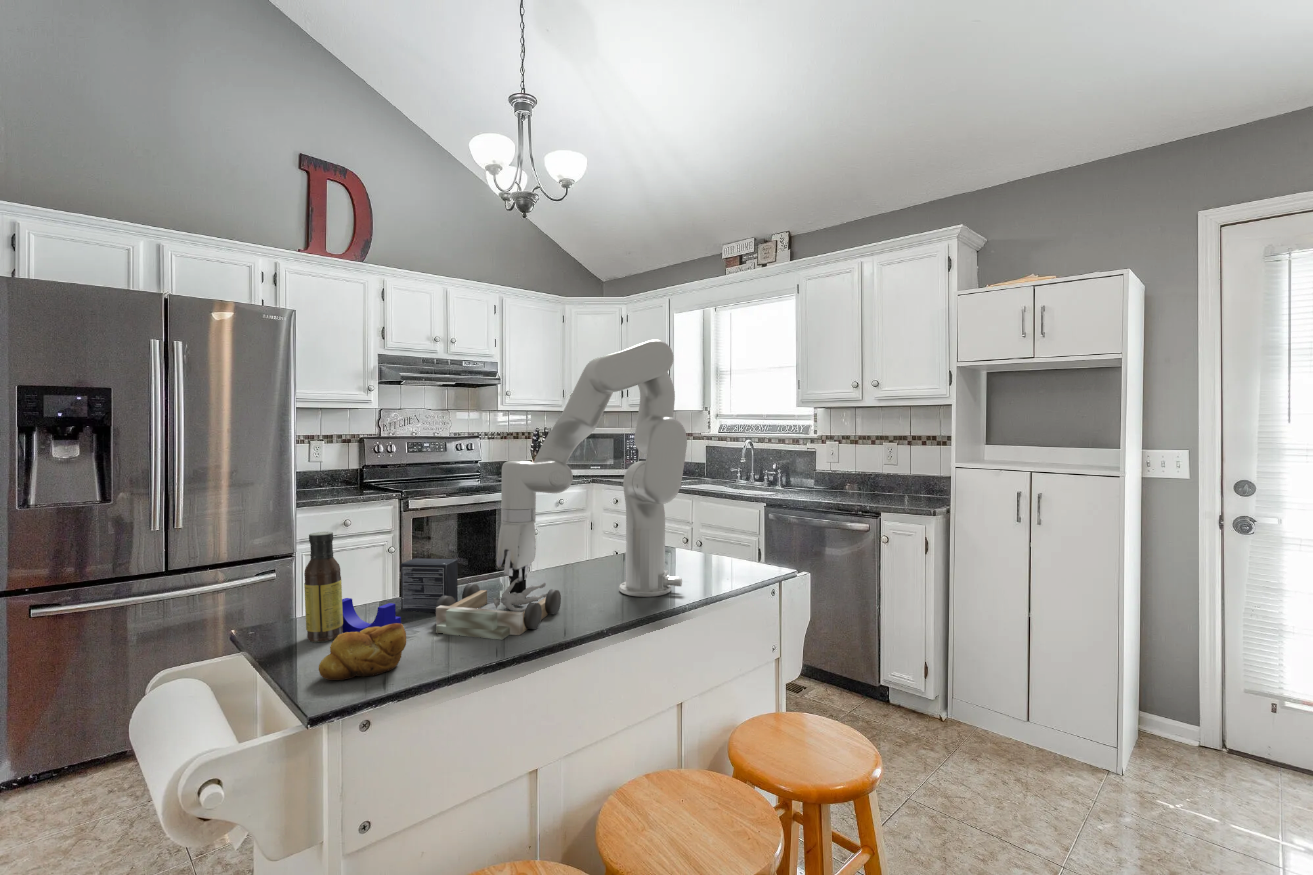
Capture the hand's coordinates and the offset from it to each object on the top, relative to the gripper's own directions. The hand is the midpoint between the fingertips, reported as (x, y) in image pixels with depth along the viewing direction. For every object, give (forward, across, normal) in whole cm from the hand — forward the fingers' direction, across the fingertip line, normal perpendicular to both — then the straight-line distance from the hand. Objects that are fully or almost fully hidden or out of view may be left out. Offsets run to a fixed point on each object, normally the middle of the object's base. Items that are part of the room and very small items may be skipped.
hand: (517, 597), depth 141 cm
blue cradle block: (+2, +24, -19) cm, 31 cm away
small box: (+2, +8, -17) cm, 19 cm away
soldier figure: (+1, +2, +2) cm, 3 cm away
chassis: (+2, +11, +1) cm, 12 cm away
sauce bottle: (+2, +30, -25) cm, 39 cm away
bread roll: (+2, +41, -7) cm, 42 cm away
